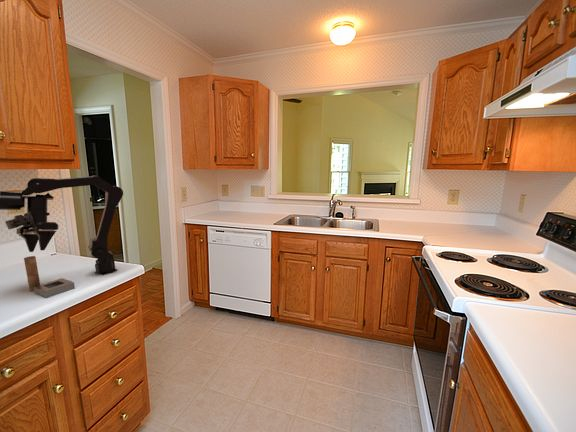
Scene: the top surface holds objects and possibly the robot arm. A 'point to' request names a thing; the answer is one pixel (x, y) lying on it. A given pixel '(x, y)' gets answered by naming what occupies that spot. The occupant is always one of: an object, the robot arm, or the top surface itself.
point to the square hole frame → (54, 287)
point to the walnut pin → (32, 272)
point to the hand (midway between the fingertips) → (36, 251)
